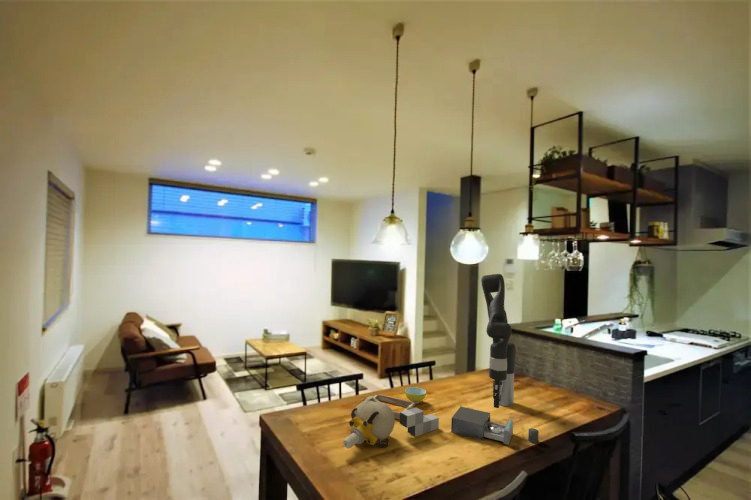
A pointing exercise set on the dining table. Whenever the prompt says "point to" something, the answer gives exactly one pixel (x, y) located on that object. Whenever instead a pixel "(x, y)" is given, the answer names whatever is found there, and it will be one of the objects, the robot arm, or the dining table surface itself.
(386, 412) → the decorative object
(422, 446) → the dining table surface
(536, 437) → the capsule
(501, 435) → the tray
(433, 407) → the dining table surface
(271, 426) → the dining table surface
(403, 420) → the block
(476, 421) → the housing
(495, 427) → the disc
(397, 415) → the serving frame
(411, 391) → the bowl
